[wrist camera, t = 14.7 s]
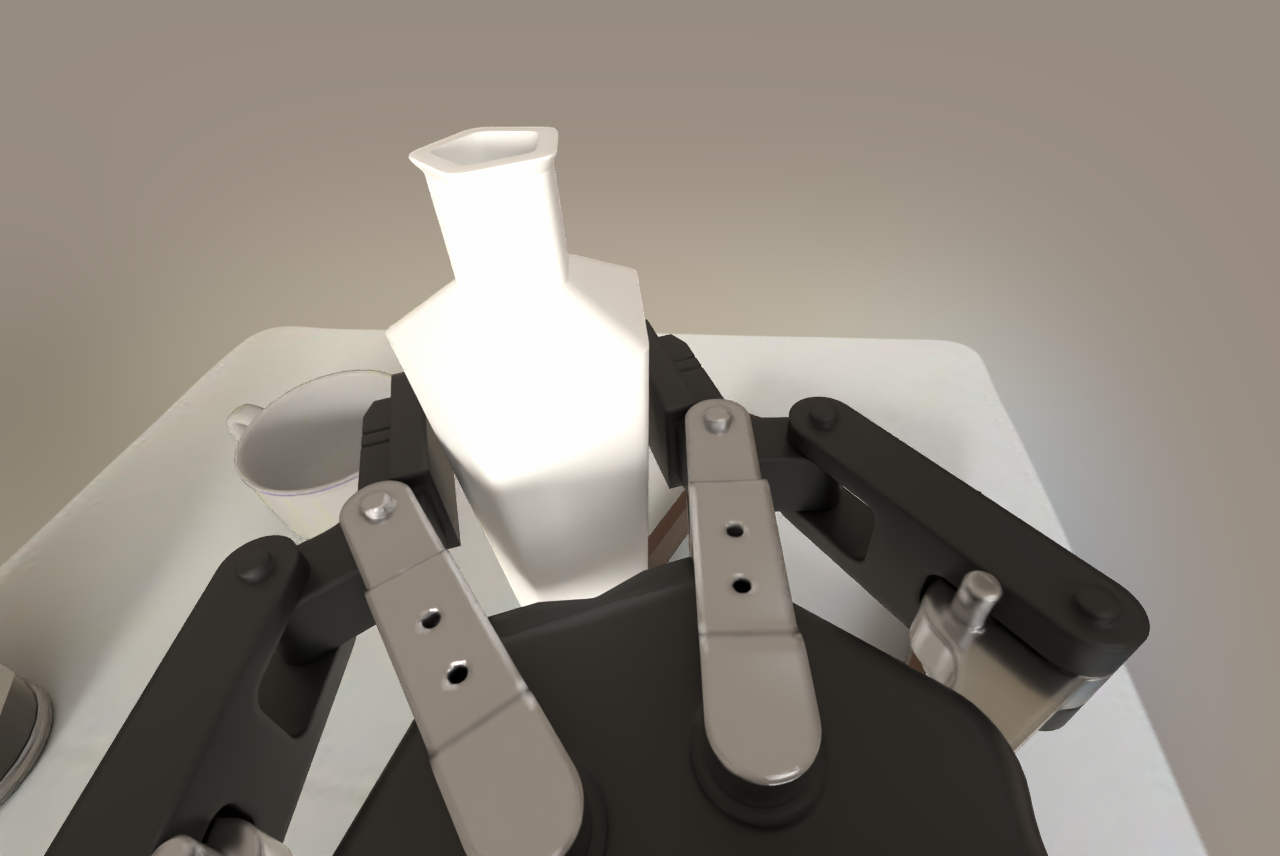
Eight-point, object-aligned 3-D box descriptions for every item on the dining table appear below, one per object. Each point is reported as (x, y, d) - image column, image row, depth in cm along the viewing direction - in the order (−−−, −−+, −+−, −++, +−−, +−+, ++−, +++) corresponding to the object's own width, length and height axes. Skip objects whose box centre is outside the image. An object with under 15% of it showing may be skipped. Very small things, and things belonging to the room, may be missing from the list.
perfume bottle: (642, 578, 21) (587, 88, 11) (699, 694, 17) (699, 152, 8) (512, 629, 19) (316, 133, 10) (549, 763, 16) (314, 231, 6)
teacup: (480, 478, 43) (450, 392, 38) (366, 596, 37) (309, 511, 31) (350, 426, 49) (307, 344, 44) (229, 520, 42) (161, 436, 37)
